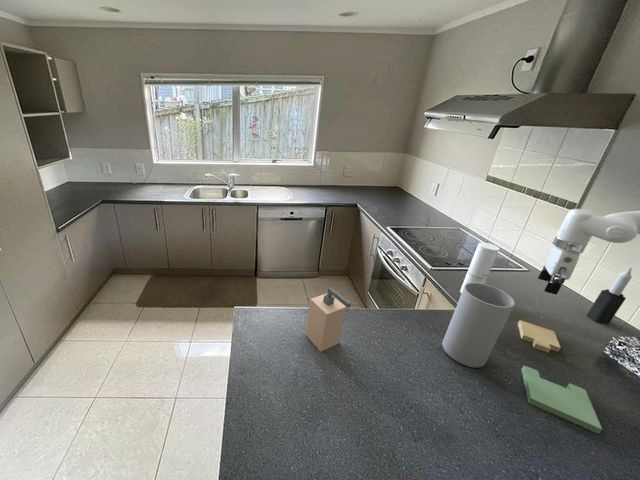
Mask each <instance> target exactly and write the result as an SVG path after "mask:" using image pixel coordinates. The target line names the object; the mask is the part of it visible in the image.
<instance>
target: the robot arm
mask: <svg viewBox="0 0 640 480" xmlns="http://www.w3.org/2000/svg"><path fill="white" fill-rule="evenodd" d="M638 235H640V210H633V211H620V212H614V213H610V214H606V215H605V216H602V215H601V214H600V213H599V212H597V211H595V210H589V209H586V208H585V209H584V208H571V209H569V211H568V212H567V214H566V216H565V217H564V220H563V221H562V223H561V225H560V227H559V230H558V232H557V234H556V235H555V238H554V239H553V242H552V243H551V246H552V249H551V250H550V252H549V253H548V255H547V257H546V259H545V262H544V266H543V267H542V269H541V271H540V273H539V275H538V277H537V279H538V280H541V281H544V282H547V283H546V286H545V287H544V290H543V291H544V292H545V293H549V294H551V295H552V294H553V295H558V293H559V291H560V289H561V287H562V286H563V285H564V283H565V281H566V280H570V278H571V277H572V275H573V272H574V270H575V269H576V267H577V264H578V261H579V259H580V256H581V254H583V253H584V252H585V249H586V247H587V246H588V244H589V243H590V240H591V239H592V237H594V238H597V239H600V240H603V241H606V242H610V243H613V244H624V243H628V242H631V241H632V240H634V239H635V238H636V237H637V236H638Z"/></svg>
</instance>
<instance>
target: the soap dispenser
mask: <svg viewBox="0 0 640 480" xmlns="http://www.w3.org/2000/svg"><path fill="white" fill-rule="evenodd" d="M351 305H352V303H351V302H350V300H348V299H346V298H345V297H344V296H343V295H341V294H340V293H339V292H338V291H337V290H335V289H334V288H333V287H328V289H327V293H324V294H321V295H317V296H315V297H312V298H310V302H309V307H308V315H307V322H306V330H305V336H306V337H307V338H308V339H309V341H311V343H312V344H313V345H314V347H316V348H317V350H318V351H319V352H320V353H321V352H323V351H326V350H328V349H330V348H333V347H334V346H337V345H338V344H340V341H341V337H342V332H343V331H342V330H343V327H344V321H345V316H346V311H347V309H349V308H351Z"/></svg>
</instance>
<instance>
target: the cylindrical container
mask: <svg viewBox="0 0 640 480" xmlns="http://www.w3.org/2000/svg"><path fill="white" fill-rule="evenodd" d="M499 252H500V247H499V246H497V245H495V244H493V243H489V242H483V241H482V242H478V244H477V247H476V250H475V251H474V254H473V257H472V259H471V261H470V264H469V267H468V269H467V272H466V275H465V277H464V280H463V282H462V285H461V287H460V290H459V292H460V295H461V294H462V291H463V289H464V286H465V284H467V283H482V284H486V282H487V279H488V277H489V275H490V272H491V270H492V267H493V266H494V263H495V260H496V258H497V256H498V253H499Z"/></svg>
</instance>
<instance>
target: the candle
mask: <svg viewBox="0 0 640 480" xmlns="http://www.w3.org/2000/svg"><path fill="white" fill-rule="evenodd" d="M632 270H633V268H632V267H628V269H626V270H625V271H624V272H620V273H619V274H618V276H617V278H616V279H615V281H614V282H613V284H612V285H611V287H610V289H608V288H607V289H602V290H601V291H600V293H599V294H598V296H597V297H596V299H595V300H594V302H593V304H592V305H591V307H590V308H589V310H588V312H587V313H586V316H587V317H588V318H589V319H591V320H592V321H593V322H595V323H597V324H605V325H609V324H610V323H611V322H612V320H613V319H614V317H615V316H616V314H617V313H618V312H619V309H621V306H622V305H623V304H624V302H625V301H626V299H627V298H626V297H625V296H624V294H623V292H624V290H625V289H626V287H627V285H628V284H629V282H630V281H631V279H632V278H633V276H632Z"/></svg>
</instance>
